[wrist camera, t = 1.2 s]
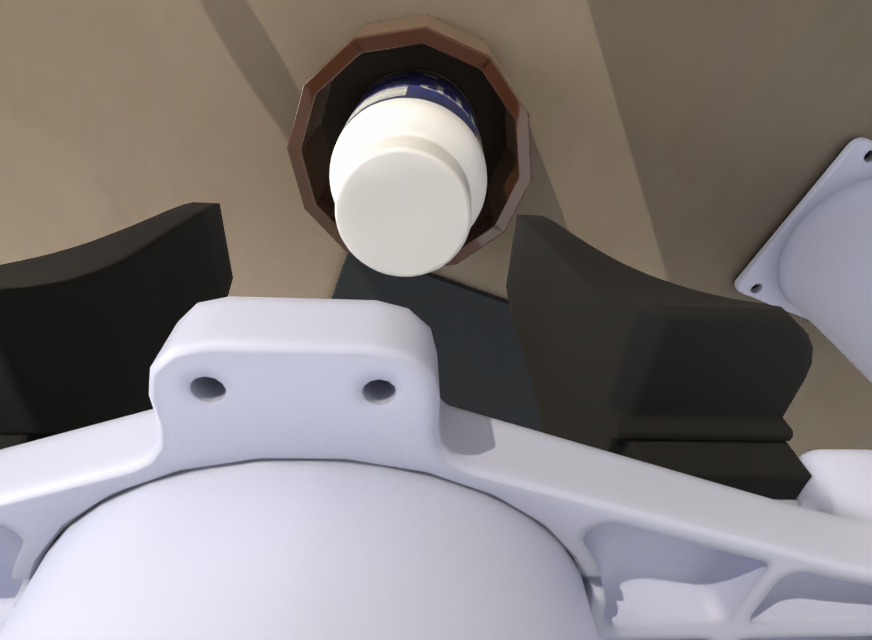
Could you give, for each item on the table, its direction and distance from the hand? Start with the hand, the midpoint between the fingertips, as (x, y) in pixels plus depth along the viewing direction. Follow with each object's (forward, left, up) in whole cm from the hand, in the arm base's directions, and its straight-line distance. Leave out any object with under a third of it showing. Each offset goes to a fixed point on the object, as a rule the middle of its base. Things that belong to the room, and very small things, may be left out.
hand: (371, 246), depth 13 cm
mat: (-8, +11, -11) cm, 18 cm away
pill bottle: (-1, 0, -12) cm, 11 cm away
